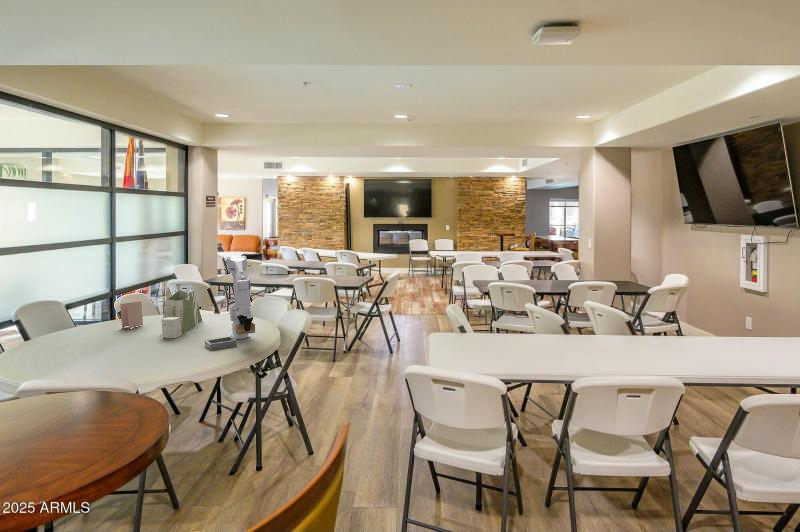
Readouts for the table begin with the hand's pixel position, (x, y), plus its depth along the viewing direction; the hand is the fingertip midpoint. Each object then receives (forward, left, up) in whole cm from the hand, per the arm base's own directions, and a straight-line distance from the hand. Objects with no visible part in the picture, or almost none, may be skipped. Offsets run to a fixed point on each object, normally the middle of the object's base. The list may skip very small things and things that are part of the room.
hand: (245, 330), depth 245 cm
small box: (-46, -26, -9) cm, 54 cm away
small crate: (0, 0, -1) cm, 1 cm away
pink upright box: (-85, -40, -9) cm, 94 cm away
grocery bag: (-68, -16, -9) cm, 71 cm away
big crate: (-9, -10, -8) cm, 16 cm away
